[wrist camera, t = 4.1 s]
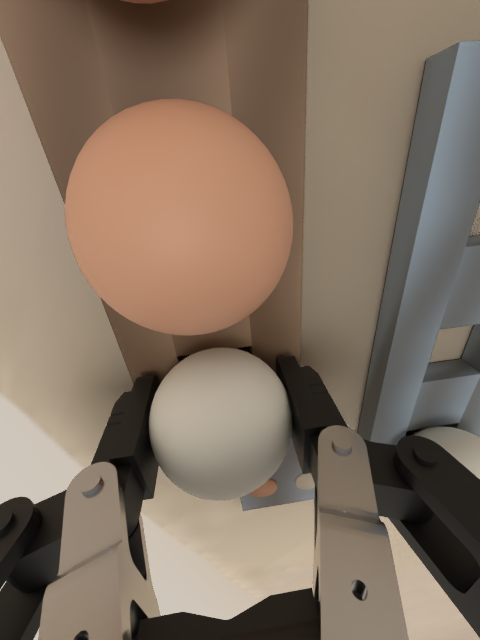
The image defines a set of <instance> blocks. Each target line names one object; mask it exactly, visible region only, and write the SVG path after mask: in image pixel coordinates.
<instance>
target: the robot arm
mask: <svg viewBox="0 0 480 640" xmlns="http://www.w3.org/2000/svg"><path fill="white" fill-rule="evenodd" d="M276 375H277V376H278V378H279V379H280V380H281V382H282V384H283V386H284V388H285V390H286V392H287V394H288V398H289V402H290V406H291V412H292V433H291V439H292V442H293V445H294V448H295V452H296V455H297V458H298V461H299V464H300V467H301V470H302V474H308V473H311V475H312V478H313V481H314V483H315V488H314V564H313V591H312V588H309V589H303V590H298V591H292V592H287V593H282V594H276V595H271V596H269V597H267V598H266V599H264V600H262V601H261V602H259V603H257V604H256V605H254V606H252V607H250V608H249V609H247V610H246V611H244V612H242V613H240V614H239V615H237V616H235V617H234V618H232V619H229V620H221V619H216V618H211V617H206V616H201V615H196V614H191V613H186V612H180V613H174V614H170V615H164V616H160V611H159V607H158V603H157V599H156V596H155V593H154V590H153V586H152V581H151V575H150V569H149V562H148V555H147V549H146V542H145V536H144V529H143V522H142V517H141V515H140V512H141V506H142V501H143V500H146V499H152V498H153V497H154V491H155V485H156V479H157V472H158V466H159V464H158V462H157V460H156V458H155V455H154V453H153V450H152V447H151V442H150V437H149V416H150V409H151V405H152V402H153V399H154V396H155V393H156V391H157V389H158V387H159V386H160V383H159V380H158V377H157V376H156V375H151V376H144V377H138V378H136V380H135V383H134V386H133V389H132V391H130V392H124V393H123V394H122V396H121V397H120V398H119V399H118V400H117V401H116V403H115V405H114V407H113V410H112V412H111V416H110V417H109V420H108V422H107V426H106V428H105V430H104V433H103V435H102V438H101V440H100V443H99V445H98V448H97V451H96V453H95V456H94V458H93V461H92V463H91V465H90V466H88V467H86V468H85V469H83V470H82V471H81V472H80V473H79V474H78V475H76V476H75V478H74V479H73V480H72V482H71V483H70V484H69V487H68V488H67V490H65V491H63V492H61V493H59V494H57V495H54V496H52V497H50V498H48V499H46V500H43V501H41V502H39V503H37V504H35V505H34V504H33V502H32V501H31V500H30V499H28V498H26V497H17V498H13V499H10V500H8V501H6V502H4V503H2V504H1V505H0V588H1V587H2V586H3V584H4V583H5V581H7V582H6V583H5V585H4V586H3V588H2V589H1V591H0V640H33V638H34V637H35V635H36V633H37V631H38V629H39V627H40V629H39V638H38V640H409V639H408V634H407V628H406V623H405V618H404V613H403V608H402V602H401V597H400V592H399V587H398V581H397V576H396V571H395V566H394V560H393V555H392V550H391V545H390V540H389V535H388V532H387V529H386V526H385V524H384V523H383V522H381V521H380V518H379V516H384V517H388V518H389V519H390V521H391V522H392V523H393V524H394V526H395V527H396V528H397V530H398V531H399V532H400V534H401V535H402V536H403V538H404V539H405V540H406V541H407V543H408V544H409V545H410V547H411V548H412V549H413V551H414V552H415V553H416V555H417V556H418V557H419V559H420V560H421V561H422V562H423V564H424V565H425V566H426V568H427V569H428V570H429V572H430V573H431V574H432V576H433V577H434V578H435V580H436V581H437V582H438V583H439V585H440V586H441V587H442V589H443V590H444V591H445V593H446V594H447V595H448V597H449V598H450V599H451V601H452V602H453V603H454V604H455V606H456V607H457V608H458V610H459V611H460V612H461V614H462V615H463V616H464V618H465V619H466V620H467V622H468V623H469V624H470V625H471V627H472V628H473V629H474V631H475V632H476V633H477V635H478V636H479V637H480V479H479V478H478V477H476V476H475V475H474V474H473V473H472V472H471V471H469V470H468V469H467V468H466V467H465V466H464V465H463V464H461V463H460V462H459V461H458V460H457V459H456V458H454V457H453V456H452V455H451V454H450V453H449V452H447V451H446V450H445V449H444V448H443V447H441V446H440V445H439V444H437V443H436V442H434V441H432V440H430V439H428V438H425V437H422V436H416V435H410V436H405V437H403V438H401V439H400V440H399V442H398V443H397V445H391V444H384V443H376V442H371V441H368V440H365V439H363V438H362V437H361V436H360V435H359V434H358V433H357V432H355V431H354V430H352V429H350V428H348V426H347V425H346V423H345V421H344V420H343V418H342V416H341V414H340V412H339V411H338V409H337V407H336V405H335V403H334V401H333V400H332V398H331V396H330V394H329V393H328V391H327V389H326V387H325V385H324V384H323V381H322V380H321V378H320V376H319V374H318V373H317V372H316V371H314V370H313V369H312V368H311V367H309V366H304V367H300V366H299V364H298V362H297V360H296V358H295V356H287V357H280V358H276Z"/></svg>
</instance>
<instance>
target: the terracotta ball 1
mask: <svg viewBox="0 0 480 640" xmlns="http://www.w3.org/2000/svg"><path fill="white" fill-rule="evenodd" d="M121 1H126V2H131V3H147V4H151V3H157V2H163V1H167V0H121Z"/></svg>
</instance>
